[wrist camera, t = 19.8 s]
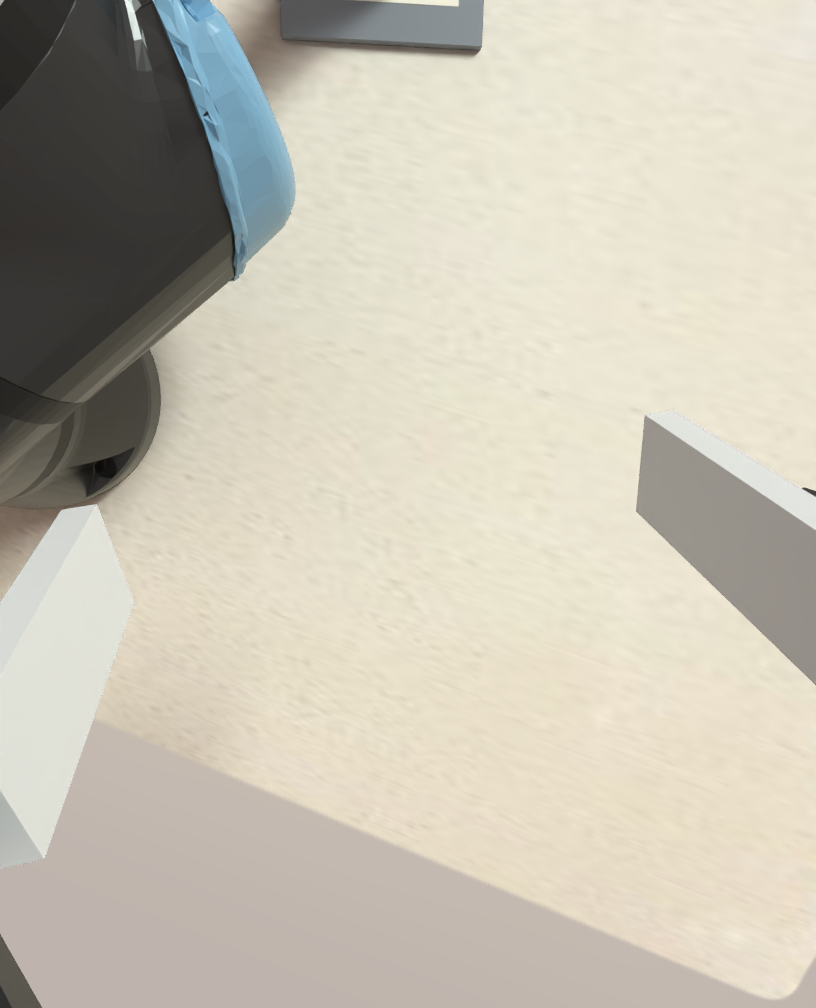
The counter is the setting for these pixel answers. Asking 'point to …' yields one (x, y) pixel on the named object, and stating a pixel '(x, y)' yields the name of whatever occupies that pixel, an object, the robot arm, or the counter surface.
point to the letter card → (386, 22)
